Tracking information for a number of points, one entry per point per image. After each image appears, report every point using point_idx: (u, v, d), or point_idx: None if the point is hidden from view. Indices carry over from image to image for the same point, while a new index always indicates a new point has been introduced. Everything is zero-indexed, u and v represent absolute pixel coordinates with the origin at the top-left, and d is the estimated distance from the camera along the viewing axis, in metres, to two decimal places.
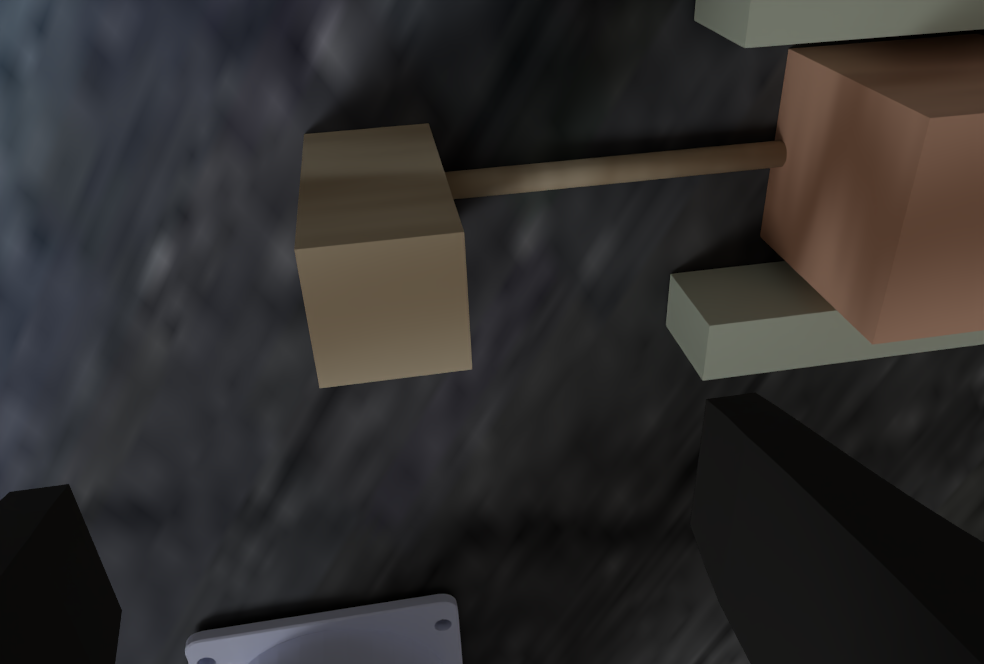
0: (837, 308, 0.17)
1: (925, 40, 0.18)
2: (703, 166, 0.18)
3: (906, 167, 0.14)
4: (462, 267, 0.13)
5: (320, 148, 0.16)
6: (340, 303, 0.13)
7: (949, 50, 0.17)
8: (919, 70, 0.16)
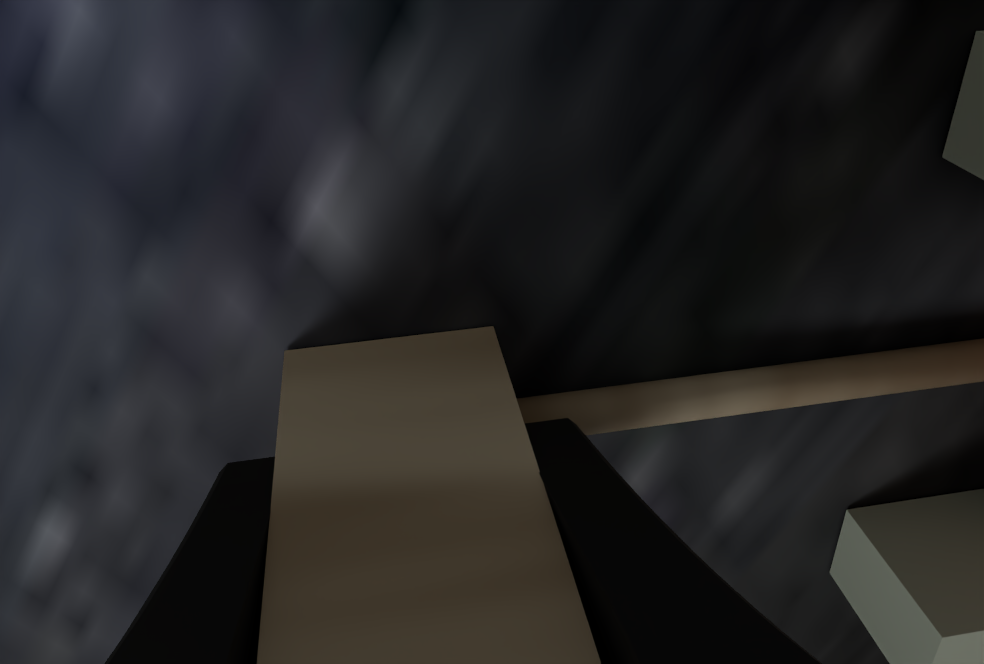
0: None
1: None
2: (935, 380, 0.11)
3: None
4: None
5: (311, 394, 0.09)
6: None
7: None
8: None
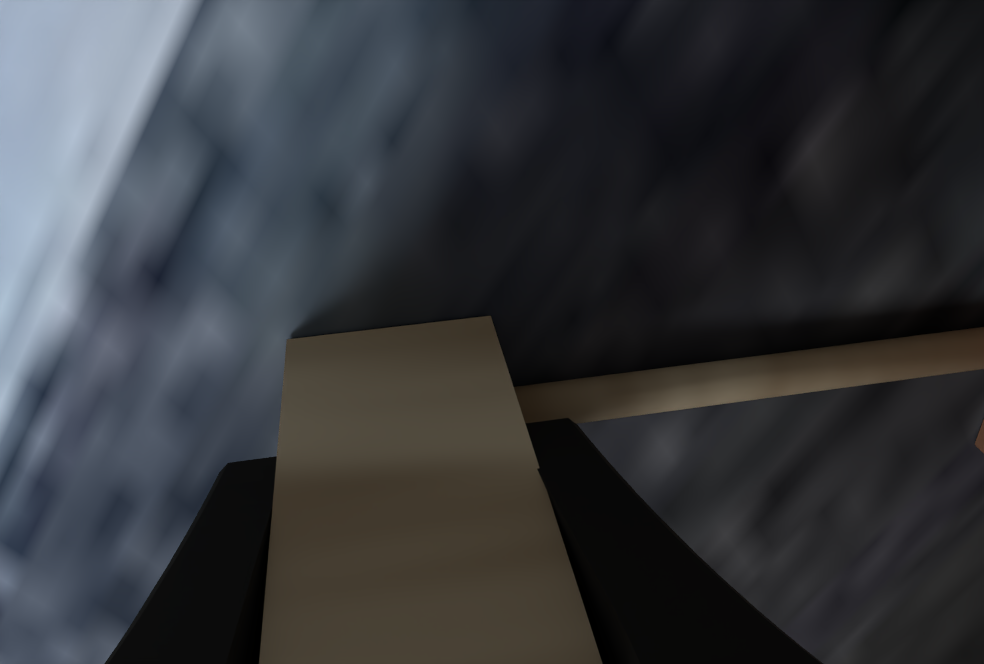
0: None
1: None
2: (922, 369, 0.11)
3: None
4: None
5: (313, 381, 0.09)
6: None
7: None
8: None
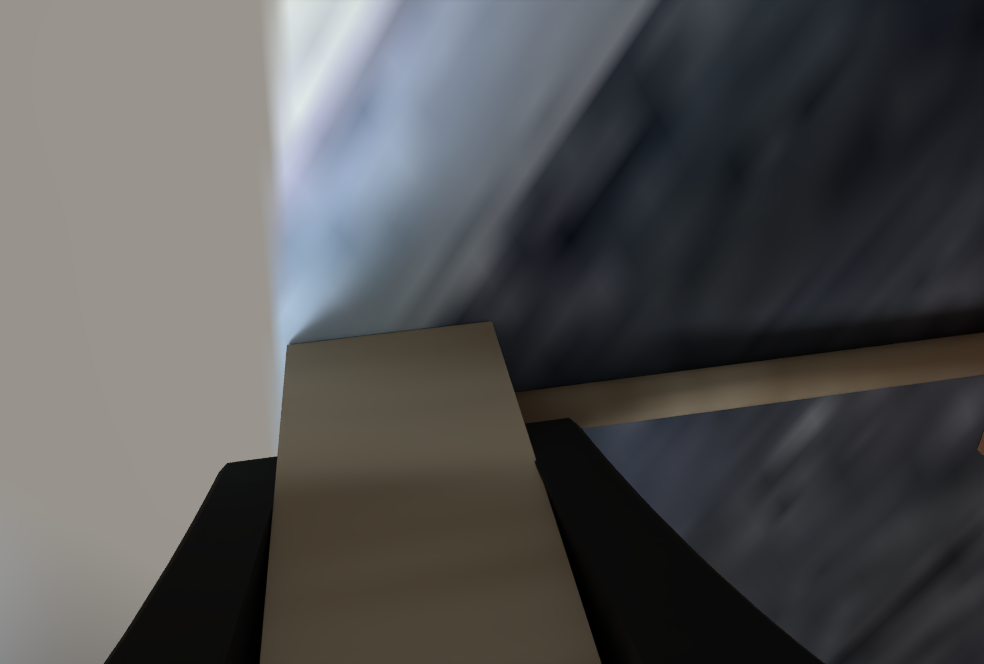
0: None
1: None
2: (925, 374, 0.11)
3: None
4: None
5: (313, 387, 0.09)
6: None
7: None
8: None
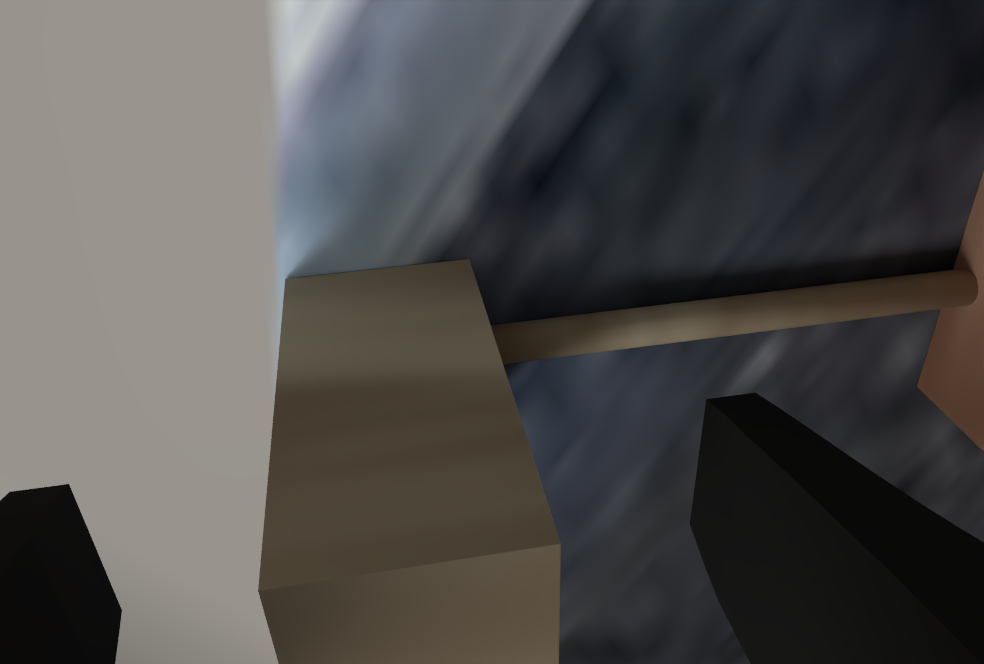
0: None
1: None
2: (861, 310, 0.13)
3: None
4: (553, 592, 0.07)
5: (309, 312, 0.11)
6: (342, 653, 0.07)
7: None
8: None
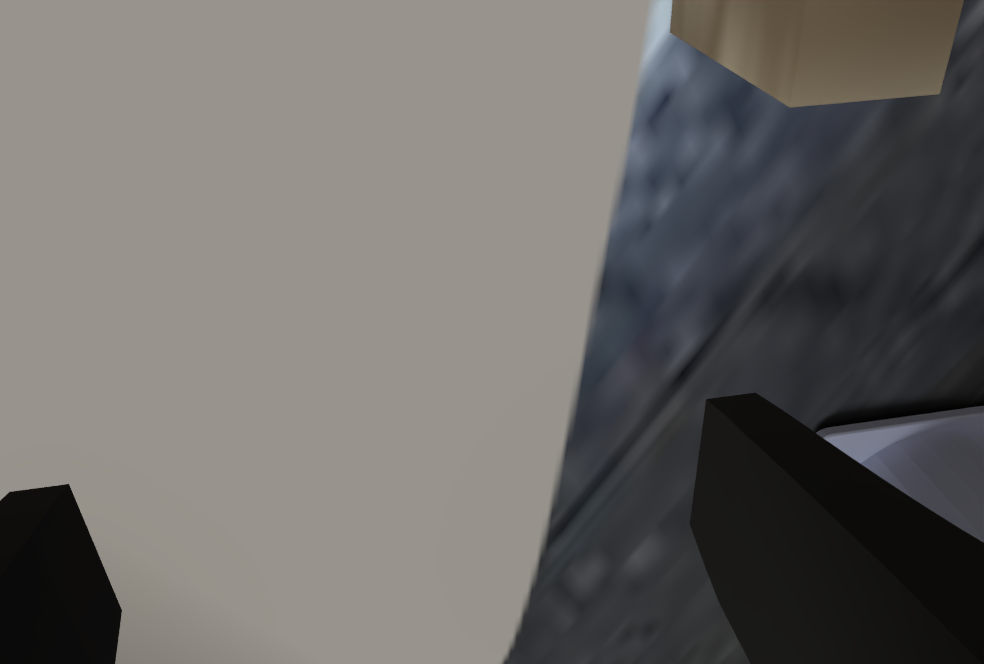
0: None
1: None
2: None
3: None
4: None
5: None
6: None
7: None
8: None
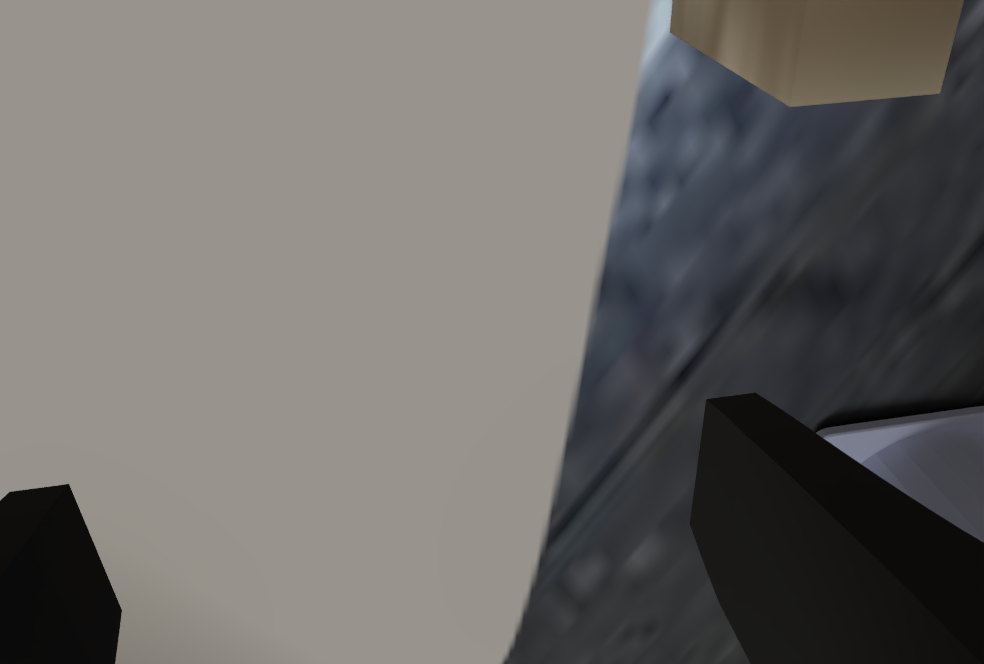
0: None
1: None
2: None
3: None
4: None
5: None
6: None
7: None
8: None
